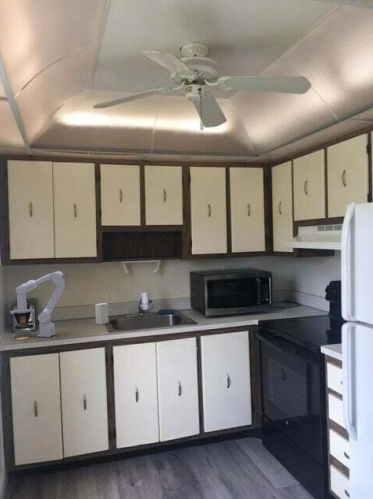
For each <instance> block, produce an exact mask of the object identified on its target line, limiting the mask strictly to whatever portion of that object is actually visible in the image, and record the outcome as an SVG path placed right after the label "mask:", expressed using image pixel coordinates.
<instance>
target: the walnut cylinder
mask: <svg viewBox="0 0 373 499" xmlns="http://www.w3.org/2000/svg"><path fill="white" fill-rule="evenodd" d="M18 327H19V328H24V327H28V324H27V315H26V316H23V315H22V316H19V324H18Z"/></svg>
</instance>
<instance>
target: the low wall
mask: <svg viewBox="0 0 373 499" xmlns="http://www.w3.org/2000/svg"><path fill="white" fill-rule="evenodd" d="M14 333H15V338H17V337H21V336H29V337H30V336H32V330H21V331H15V332H14Z"/></svg>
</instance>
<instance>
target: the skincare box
mask: <svg viewBox="0 0 373 499" xmlns="http://www.w3.org/2000/svg"><path fill="white" fill-rule="evenodd" d="M94 306H95V309H94V311H95V324H96V325H104V324H108V323H109V303H107V302H100V303H96V304H94Z"/></svg>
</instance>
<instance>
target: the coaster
mask: <svg viewBox="0 0 373 499" xmlns="http://www.w3.org/2000/svg"><path fill="white" fill-rule="evenodd" d="M15 339H16V340H17V341H24V340H28V339H30V335H29V336H18V337H15Z"/></svg>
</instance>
